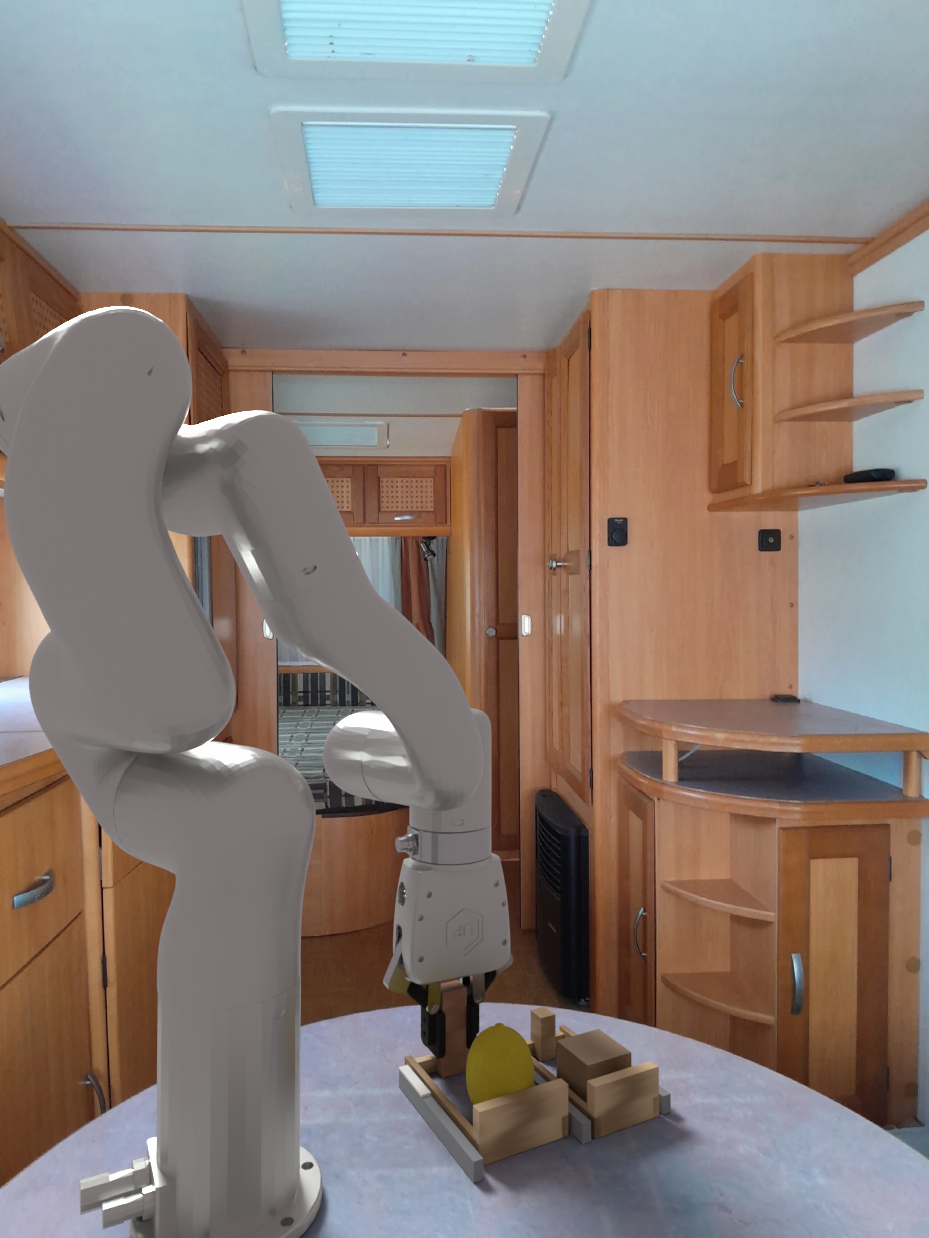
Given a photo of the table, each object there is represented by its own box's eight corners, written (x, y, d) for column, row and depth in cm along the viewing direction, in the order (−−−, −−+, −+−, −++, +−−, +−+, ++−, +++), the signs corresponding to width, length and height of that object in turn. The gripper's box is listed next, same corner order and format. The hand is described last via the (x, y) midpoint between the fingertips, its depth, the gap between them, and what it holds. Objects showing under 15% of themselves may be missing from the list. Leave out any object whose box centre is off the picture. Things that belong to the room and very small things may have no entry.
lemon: (535, 1106, 67) (533, 1009, 67) (534, 1147, 61) (533, 1041, 61) (469, 1103, 67) (468, 1007, 67) (463, 1144, 62) (462, 1039, 62)
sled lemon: (479, 1166, 59) (479, 1064, 59) (404, 1074, 71) (404, 990, 71) (568, 1135, 63) (568, 1039, 63) (482, 1053, 75) (482, 972, 75)
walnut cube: (587, 1121, 65) (587, 1065, 65) (556, 1093, 69) (556, 1040, 69) (631, 1106, 67) (631, 1052, 67) (598, 1079, 71) (598, 1028, 71)
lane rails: (473, 1183, 57) (473, 1159, 57) (398, 1086, 69) (398, 1066, 69) (591, 1140, 62) (591, 1118, 62) (502, 1057, 74) (502, 1039, 74)
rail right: (663, 1114, 65) (663, 1096, 65) (581, 1050, 75) (581, 1034, 75) (670, 1112, 66) (670, 1093, 66) (587, 1048, 76) (587, 1032, 76)
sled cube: (594, 1138, 62) (594, 1087, 62) (507, 1057, 74) (506, 1014, 74) (658, 1115, 65) (658, 1066, 65) (564, 1041, 77) (564, 999, 77)
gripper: (382, 865, 66) (381, 1091, 65) (547, 842, 73) (547, 1045, 73) (352, 844, 72) (352, 1049, 72) (506, 825, 80) (506, 1011, 79)
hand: (450, 1045), depth 72 cm, fingers closed on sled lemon, 2 cm apart
